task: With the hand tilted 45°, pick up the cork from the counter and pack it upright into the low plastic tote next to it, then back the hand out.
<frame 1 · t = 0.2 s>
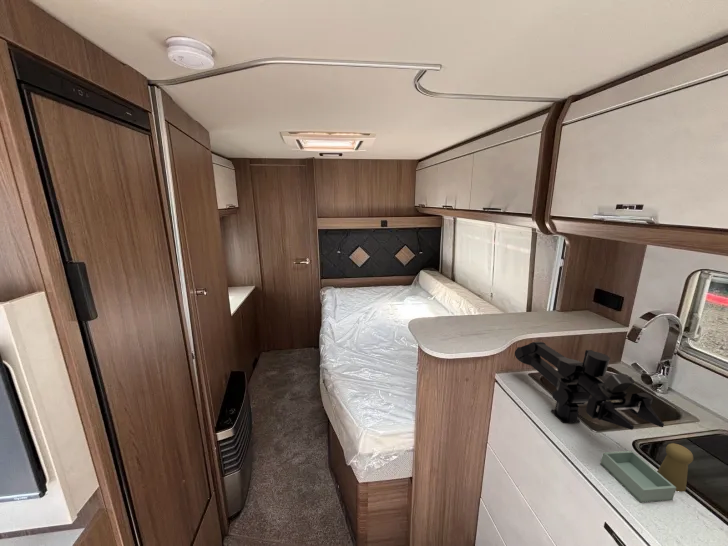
hand: (648, 427, 82), 17 cm above the worktop, tool horizontal, fingers open, 9 cm apart
tote: (634, 481, 85), on the worktop
cork: (670, 482, 85), on the worktop
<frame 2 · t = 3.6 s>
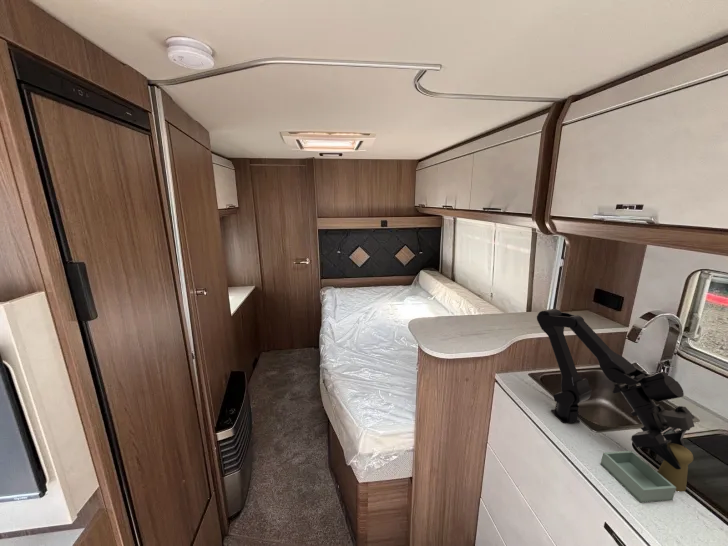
hand: (683, 465, 82), 7 cm above the worktop, tool tilted 45°, fingers closed on cork, 5 cm apart
cork: (670, 482, 85), on the worktop, touching gripper
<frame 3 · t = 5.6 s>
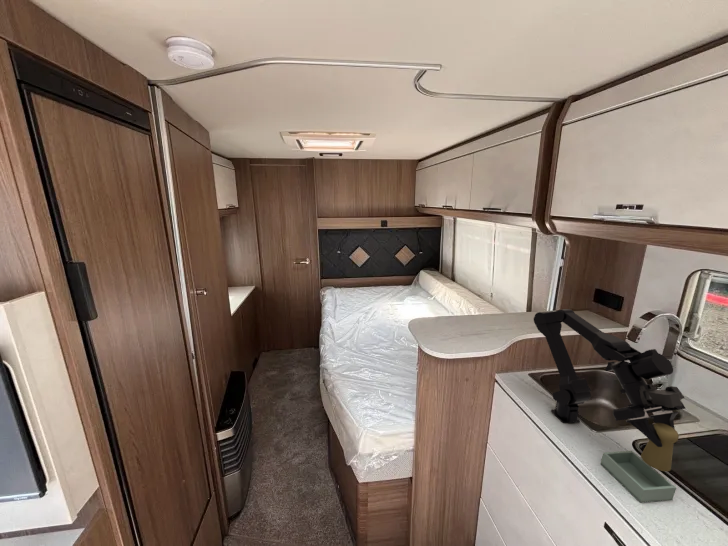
hand: (667, 445, 80), 13 cm above the worktop, tool tilted 45°, fingers closed on cork, 5 cm apart
cork: (655, 462, 83), point 6 cm above the worktop, touching gripper
when the fingers open (8 cm above the worktop, at t = 7.9 s): cork drops 1 cm, resting on tote.
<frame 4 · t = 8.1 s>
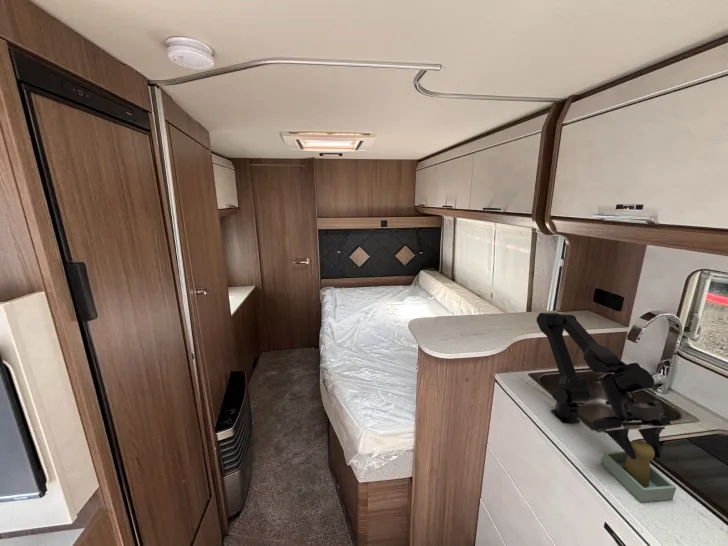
hand: (646, 458, 82), 9 cm above the worktop, tool tilted 45°, fingers open, 7 cm apart
cork: (634, 479, 85), resting on tote
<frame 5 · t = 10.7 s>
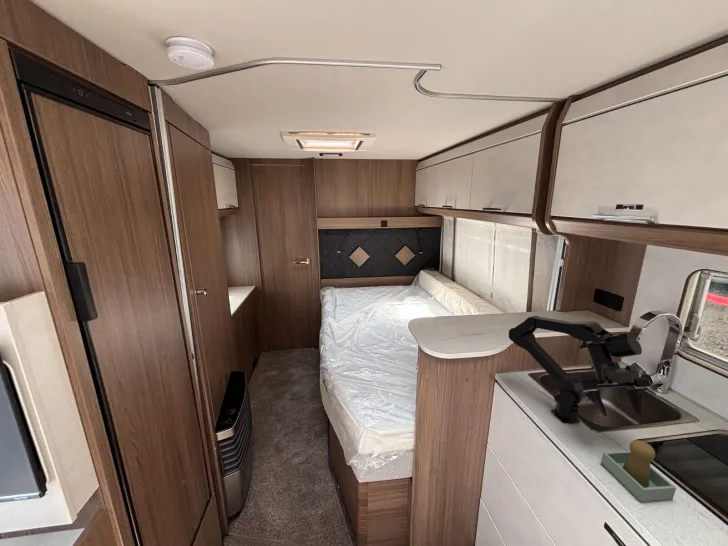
hand: (622, 415, 91), 14 cm above the worktop, tool tilted 40°, fingers open, 9 cm apart
nothing on the worktop moved.
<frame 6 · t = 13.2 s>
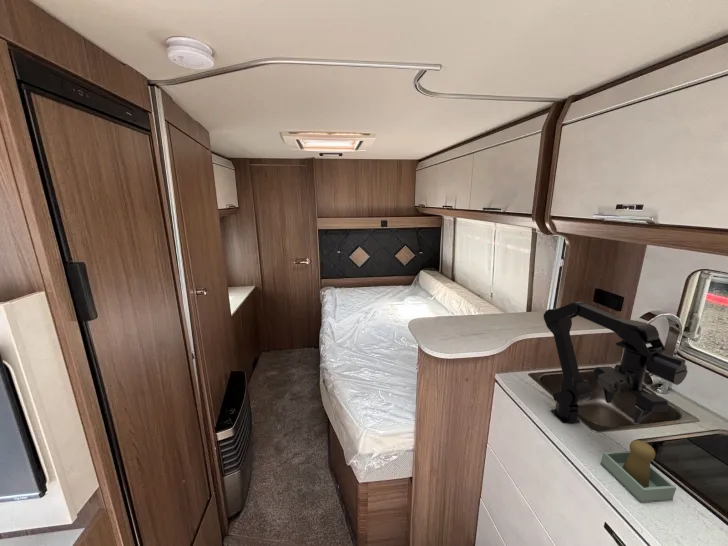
hand: (621, 412, 93), 13 cm above the worktop, tool pointing down, fingers open, 9 cm apart
nothing on the worktop moved.
at the end: cork 0.1 cm off-centre on the tote, point 0.4 cm above the tote's base; cork tilted 0°; the gripper is holding nothing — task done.
